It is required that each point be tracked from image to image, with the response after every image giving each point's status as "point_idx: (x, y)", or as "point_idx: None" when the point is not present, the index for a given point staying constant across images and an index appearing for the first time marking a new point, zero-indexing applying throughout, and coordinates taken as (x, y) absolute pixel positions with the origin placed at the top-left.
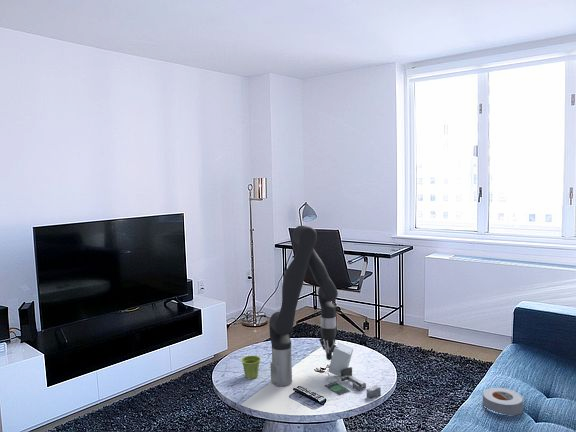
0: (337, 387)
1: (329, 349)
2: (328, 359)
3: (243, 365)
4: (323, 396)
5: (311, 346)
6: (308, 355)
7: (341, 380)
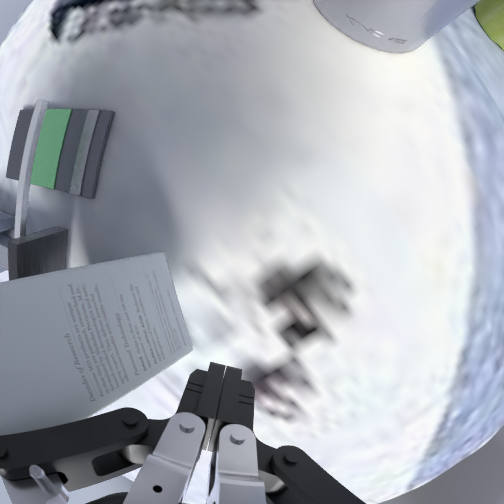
0: (45, 149)
1: (155, 455)
2: (209, 366)
3: None
4: (70, 41)
5: (454, 437)
6: (449, 388)
7: (61, 228)
